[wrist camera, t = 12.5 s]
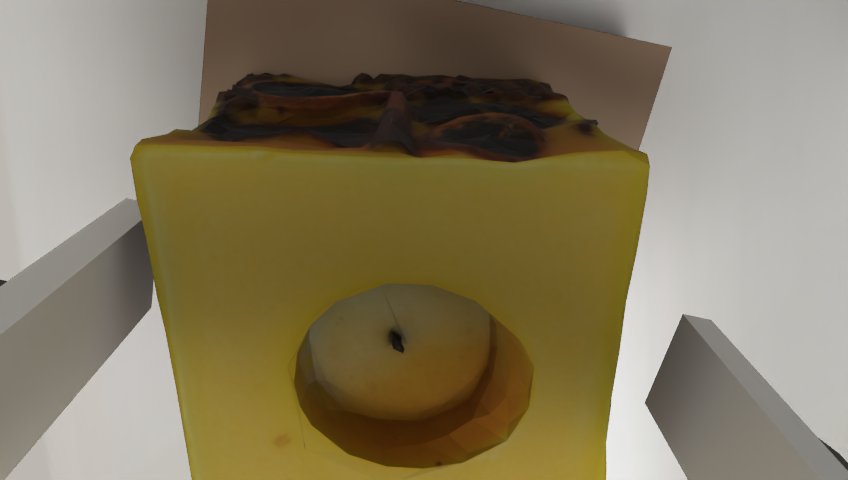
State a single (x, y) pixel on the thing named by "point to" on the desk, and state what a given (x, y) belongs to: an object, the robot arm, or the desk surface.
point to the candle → (392, 278)
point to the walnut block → (432, 51)
